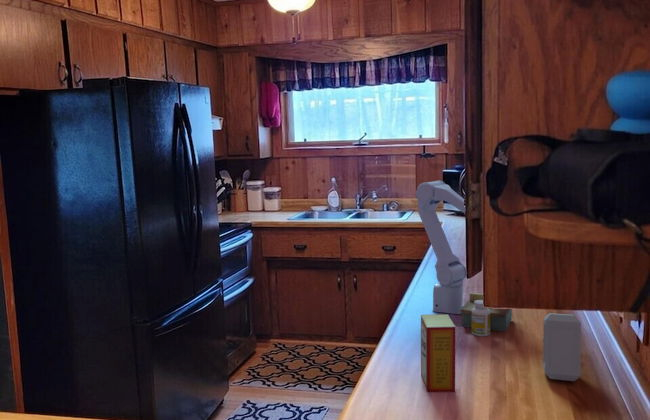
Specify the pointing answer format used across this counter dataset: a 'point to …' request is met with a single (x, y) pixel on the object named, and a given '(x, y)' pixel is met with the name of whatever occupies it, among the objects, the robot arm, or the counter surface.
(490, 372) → the counter surface
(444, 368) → the baking soda box
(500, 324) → the teal shallow tray
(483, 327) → the supplement bottle
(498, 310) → the lid
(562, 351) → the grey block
